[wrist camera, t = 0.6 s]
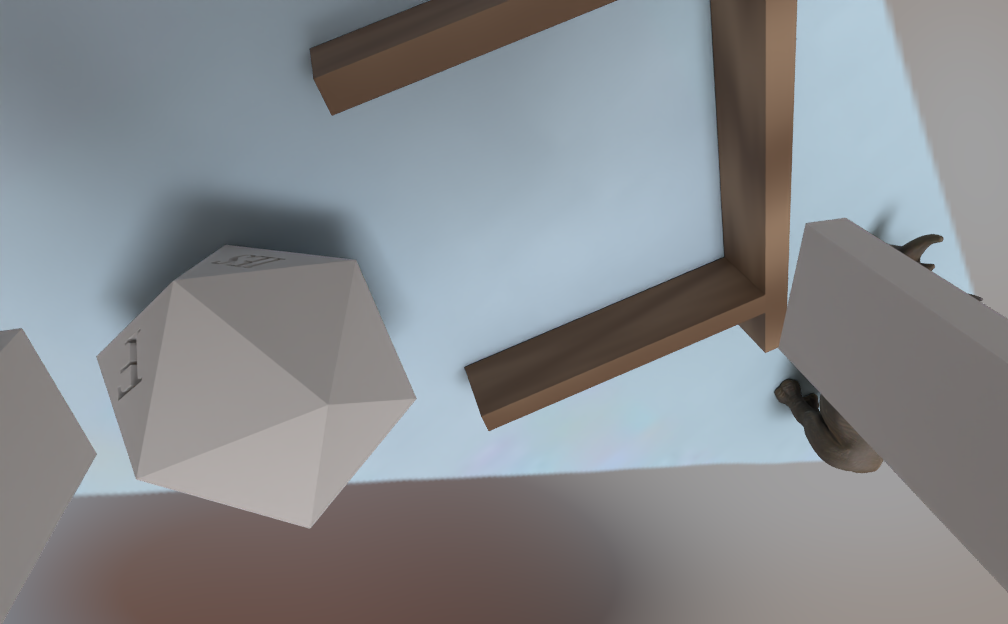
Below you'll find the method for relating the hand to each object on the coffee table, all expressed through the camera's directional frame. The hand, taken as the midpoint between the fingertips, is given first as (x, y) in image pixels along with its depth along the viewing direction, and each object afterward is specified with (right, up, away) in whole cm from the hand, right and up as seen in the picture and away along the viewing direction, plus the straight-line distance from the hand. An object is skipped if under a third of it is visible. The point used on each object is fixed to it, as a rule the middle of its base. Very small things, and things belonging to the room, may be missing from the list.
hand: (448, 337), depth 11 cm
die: (-8, +1, +12) cm, 14 cm away
